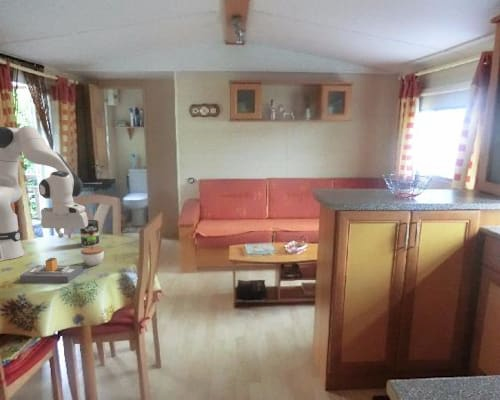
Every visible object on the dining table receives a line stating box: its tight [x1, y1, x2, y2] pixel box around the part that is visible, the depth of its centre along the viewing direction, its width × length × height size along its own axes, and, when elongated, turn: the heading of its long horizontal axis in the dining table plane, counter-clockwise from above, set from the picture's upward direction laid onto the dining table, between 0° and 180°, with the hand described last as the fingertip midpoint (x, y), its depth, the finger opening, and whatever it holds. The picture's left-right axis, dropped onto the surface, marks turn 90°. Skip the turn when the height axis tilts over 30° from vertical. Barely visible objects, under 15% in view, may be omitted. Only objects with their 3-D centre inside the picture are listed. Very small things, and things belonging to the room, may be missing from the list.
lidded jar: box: [80, 245, 105, 267], centre depth 187 cm, size 11×11×9 cm
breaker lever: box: [45, 257, 58, 271], centre depth 170 cm, size 3×4×5 cm
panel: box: [19, 264, 84, 284], centre depth 171 cm, size 22×13×4 cm, turn 87°
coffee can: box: [79, 219, 101, 248], centre depth 219 cm, size 10×10×14 cm
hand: (65, 237), depth 167 cm, fingers open, 3 cm apart
